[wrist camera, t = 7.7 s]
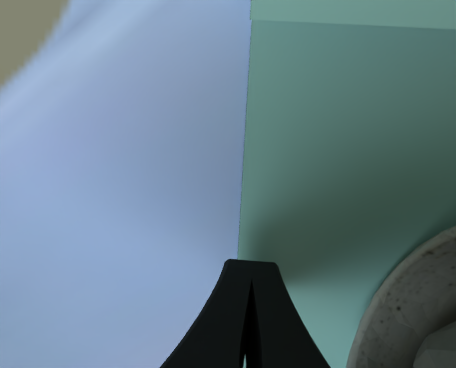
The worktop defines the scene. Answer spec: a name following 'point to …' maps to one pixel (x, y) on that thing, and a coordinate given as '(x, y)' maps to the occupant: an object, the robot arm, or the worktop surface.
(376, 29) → the tray
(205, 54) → the worktop surface
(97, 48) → the worktop surface
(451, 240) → the ceramic mug
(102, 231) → the worktop surface
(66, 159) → the worktop surface
